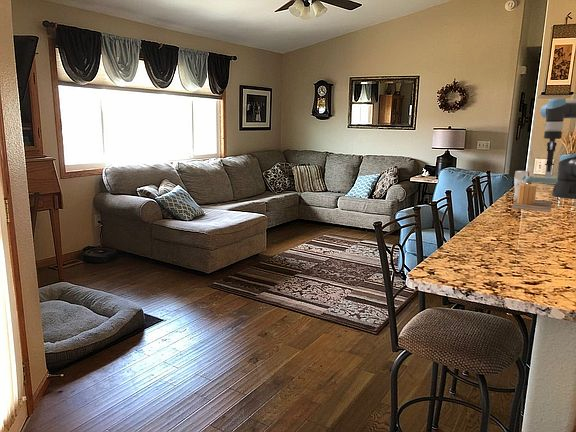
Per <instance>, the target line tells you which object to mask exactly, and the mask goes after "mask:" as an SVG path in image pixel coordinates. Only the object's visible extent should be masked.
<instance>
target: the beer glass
mask: <svg viewBox="0 0 576 432" xmlns="http://www.w3.org/2000/svg"><path fill="white" fill-rule="evenodd" d="M526 176H530V171H528V170H515V172H514V177H513V178H514V179H513V180H514V181H513V185H514V186H513V187H514V194H513V200H516V199H517V198H518V188H519V184H526V182H525V181H526Z"/></svg>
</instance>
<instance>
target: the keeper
mask: <svg viewBox="0 0 576 432" xmlns="http://www.w3.org/2000/svg"><path fill="white" fill-rule="evenodd" d="M525 182H532V183H539V184H556V183H557V177H551V178H549V177H545V176H544V177H543V176H530V175H529V176H526V181H525Z"/></svg>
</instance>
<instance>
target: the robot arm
mask: <svg viewBox="0 0 576 432" xmlns="http://www.w3.org/2000/svg"><path fill="white" fill-rule="evenodd" d="M540 115H541V117H542V118H544V119H545V123H544V124H543V126H544V127H545V128H544V129H545V131H544V135H543V138H544V139H547V140H549V142H548V141H547V144H546V146H547V148H546V152H547V156H546V157H547V158H546V162H545V164H544V165H545V173H544V174H545V175H544V177H549V178H552V171H553V166H554V165H555V163H554V161H553V160H554V152H556V147H557V142H556V140H561V139H562V136H563V130H564V129H563V128H564V120H565V119H576V98H573V99H568V100H566V98H559V97H558V98H549V99H548V102H547V103H545V104H543V105H542V106H541V108H540ZM556 178H557V183H556V184H555V183H554V184H555V185H554V186H553V189H552V191H551V196H553V197H558V198H565V199H566V198H567V199H576V153H570V154H562V155H561V156H559V160H558V168H557V177H556Z"/></svg>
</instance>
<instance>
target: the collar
mask: <svg viewBox="0 0 576 432" xmlns="http://www.w3.org/2000/svg"><path fill="white" fill-rule="evenodd" d="M536 194H537V184H533V183H532V184H519V188H518V198H517V203H519V204H528V205H531V204H535V200H536Z"/></svg>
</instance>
